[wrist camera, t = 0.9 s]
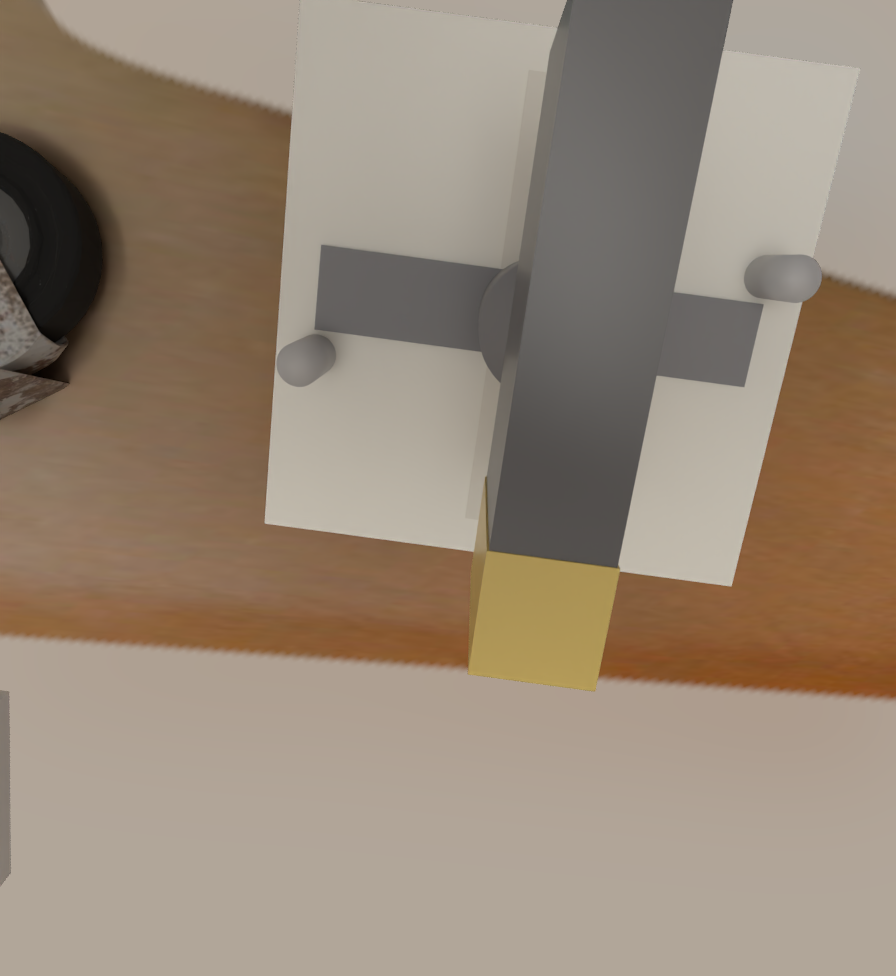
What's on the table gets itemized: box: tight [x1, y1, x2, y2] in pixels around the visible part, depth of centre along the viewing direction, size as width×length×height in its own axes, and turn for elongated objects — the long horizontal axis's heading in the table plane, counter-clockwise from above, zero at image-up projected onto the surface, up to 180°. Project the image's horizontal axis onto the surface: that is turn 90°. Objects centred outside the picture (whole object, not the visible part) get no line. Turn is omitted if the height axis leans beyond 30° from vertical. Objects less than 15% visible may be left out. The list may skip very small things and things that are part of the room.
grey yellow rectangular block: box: [468, 0, 733, 691], centre depth 20 cm, size 14×3×9 cm, turn 173°
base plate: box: [265, 0, 860, 586], centre depth 28 cm, size 20×20×8 cm
